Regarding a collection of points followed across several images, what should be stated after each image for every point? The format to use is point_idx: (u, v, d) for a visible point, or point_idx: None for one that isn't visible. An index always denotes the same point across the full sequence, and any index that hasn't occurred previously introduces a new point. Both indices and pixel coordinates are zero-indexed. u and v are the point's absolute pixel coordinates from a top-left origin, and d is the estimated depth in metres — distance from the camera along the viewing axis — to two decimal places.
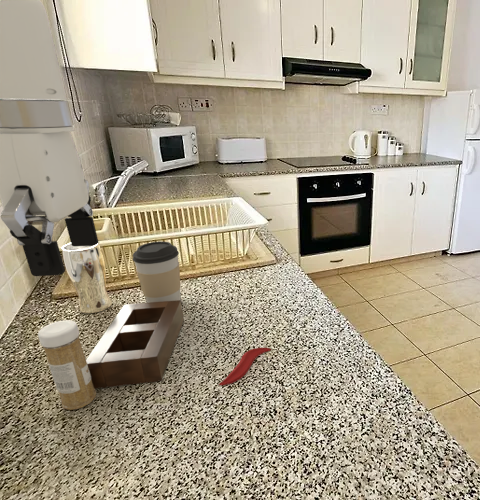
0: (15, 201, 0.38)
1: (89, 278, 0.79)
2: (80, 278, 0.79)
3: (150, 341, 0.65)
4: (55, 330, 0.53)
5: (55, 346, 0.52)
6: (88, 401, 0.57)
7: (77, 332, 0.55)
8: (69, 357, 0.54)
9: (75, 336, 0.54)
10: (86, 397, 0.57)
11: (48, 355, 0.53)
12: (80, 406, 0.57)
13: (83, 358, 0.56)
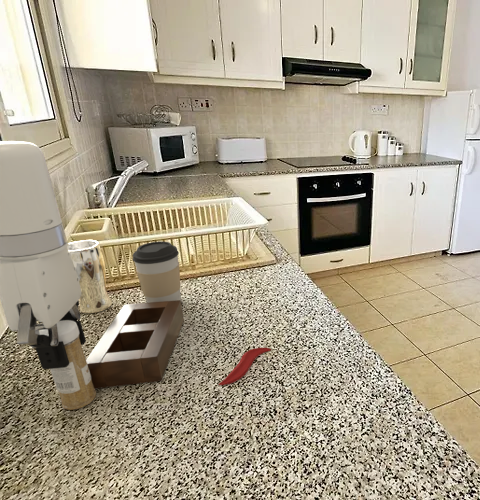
0: (24, 325, 0.47)
1: (89, 278, 0.79)
2: (80, 279, 0.79)
3: (150, 341, 0.65)
4: None
5: None
6: (88, 401, 0.57)
7: (77, 332, 0.55)
8: (69, 357, 0.54)
9: (75, 336, 0.54)
10: (86, 397, 0.57)
11: None
12: (80, 406, 0.57)
13: (83, 358, 0.56)
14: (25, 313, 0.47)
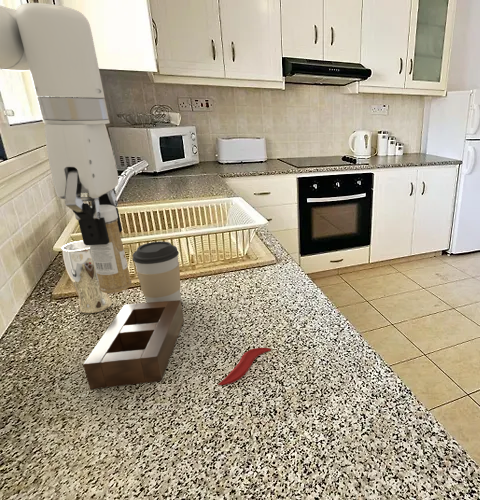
0: (71, 188, 0.49)
1: (89, 278, 0.79)
2: (80, 279, 0.79)
3: (150, 341, 0.65)
4: None
5: None
6: (125, 286, 0.60)
7: (116, 214, 0.57)
8: (108, 236, 0.56)
9: (114, 217, 0.56)
10: (123, 282, 0.59)
11: None
12: (118, 290, 0.59)
13: (121, 242, 0.58)
14: (72, 178, 0.49)
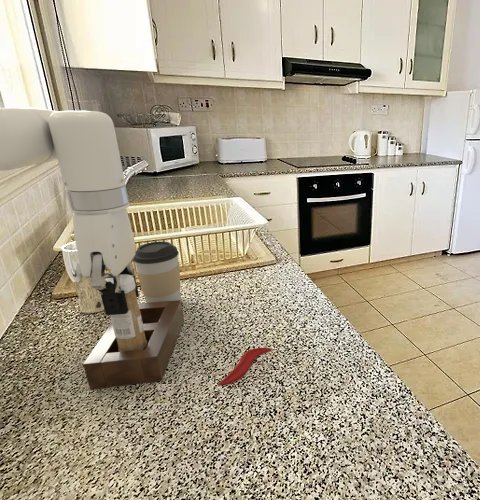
0: (96, 271, 0.54)
1: (89, 278, 0.79)
2: (80, 279, 0.79)
3: (150, 341, 0.65)
4: None
5: None
6: (141, 348, 0.65)
7: (134, 284, 0.62)
8: (127, 305, 0.61)
9: (133, 287, 0.61)
10: (140, 344, 0.64)
11: None
12: None
13: (138, 308, 0.63)
14: (97, 261, 0.54)
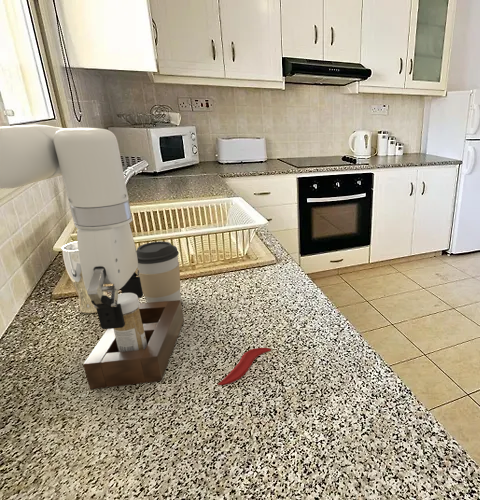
0: (95, 279, 0.53)
1: None
2: (80, 279, 0.79)
3: (150, 341, 0.65)
4: (120, 300, 0.61)
5: None
6: None
7: (138, 303, 0.63)
8: (131, 323, 0.62)
9: (137, 306, 0.62)
10: None
11: None
12: None
13: (142, 326, 0.65)
14: None
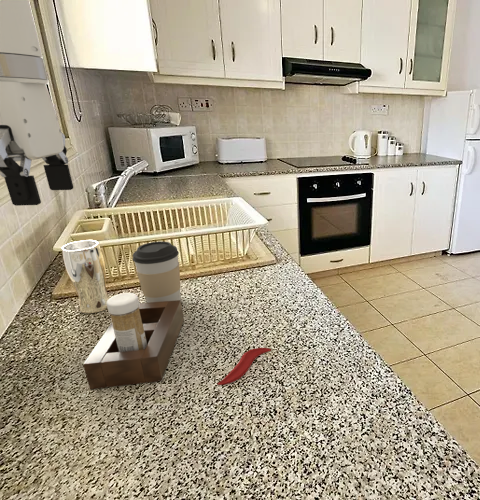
0: None
1: (89, 278, 0.79)
2: (80, 279, 0.79)
3: (150, 341, 0.65)
4: (120, 300, 0.61)
5: (121, 313, 0.61)
6: None
7: (138, 303, 0.63)
8: (131, 323, 0.62)
9: (137, 306, 0.62)
10: None
11: (114, 322, 0.61)
12: None
13: (142, 326, 0.65)
14: None
